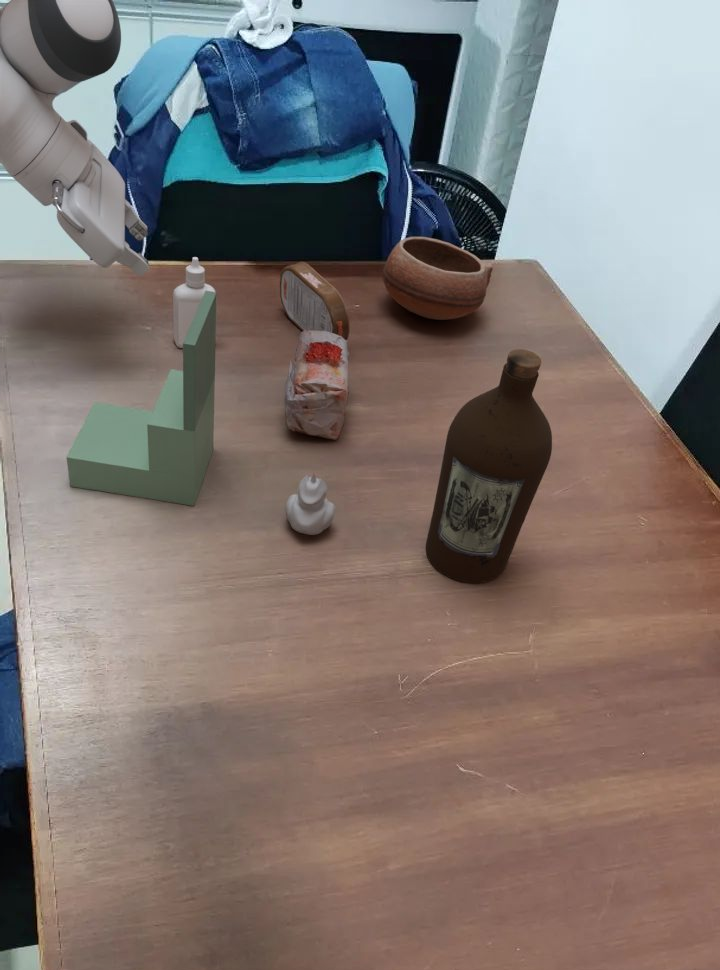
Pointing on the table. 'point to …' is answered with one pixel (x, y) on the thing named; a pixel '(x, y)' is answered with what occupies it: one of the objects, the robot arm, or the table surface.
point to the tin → (312, 301)
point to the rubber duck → (310, 507)
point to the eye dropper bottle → (188, 300)
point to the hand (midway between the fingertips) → (144, 252)
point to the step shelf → (156, 429)
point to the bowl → (436, 278)
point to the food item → (318, 385)
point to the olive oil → (490, 475)
